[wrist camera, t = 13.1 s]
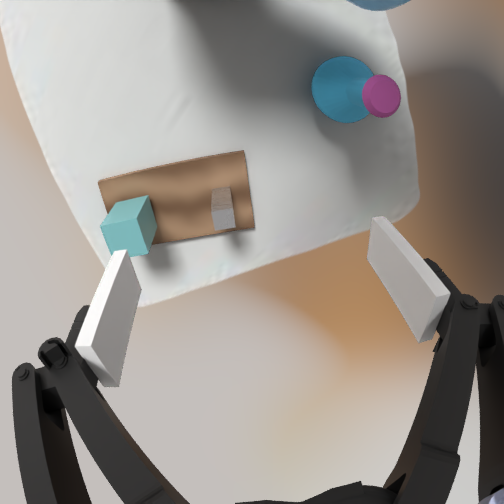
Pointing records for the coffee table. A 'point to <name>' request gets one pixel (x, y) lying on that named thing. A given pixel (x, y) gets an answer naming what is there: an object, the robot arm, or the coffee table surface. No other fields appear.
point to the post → (222, 208)
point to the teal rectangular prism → (130, 226)
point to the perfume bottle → (353, 91)
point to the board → (185, 194)
